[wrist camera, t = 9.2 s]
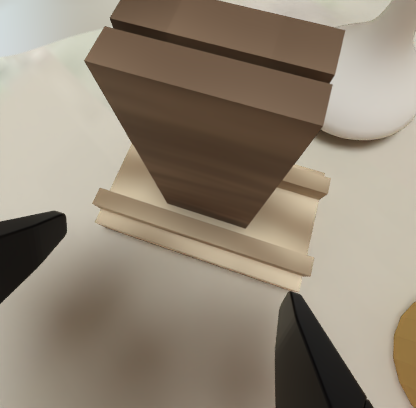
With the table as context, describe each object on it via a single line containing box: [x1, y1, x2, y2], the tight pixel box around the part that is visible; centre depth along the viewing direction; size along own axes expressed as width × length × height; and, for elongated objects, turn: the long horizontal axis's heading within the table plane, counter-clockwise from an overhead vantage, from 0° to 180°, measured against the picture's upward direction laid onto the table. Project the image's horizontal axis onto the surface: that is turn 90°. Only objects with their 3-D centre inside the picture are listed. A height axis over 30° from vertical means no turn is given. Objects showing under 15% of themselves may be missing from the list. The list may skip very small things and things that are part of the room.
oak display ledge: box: [92, 133, 331, 292], centre depth 19 cm, size 9×15×3 cm, turn 72°
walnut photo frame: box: [84, 0, 345, 229], centre depth 12 cm, size 3×6×12 cm, turn 72°
